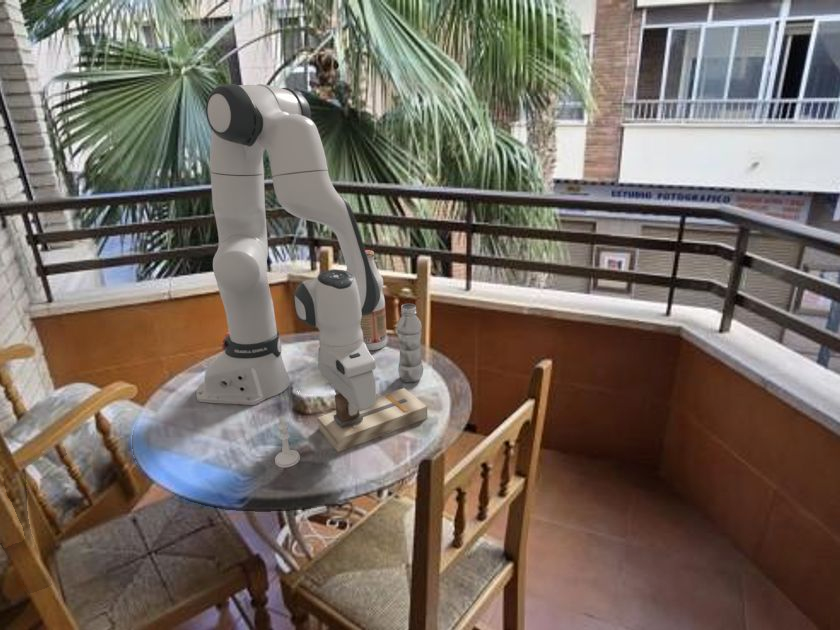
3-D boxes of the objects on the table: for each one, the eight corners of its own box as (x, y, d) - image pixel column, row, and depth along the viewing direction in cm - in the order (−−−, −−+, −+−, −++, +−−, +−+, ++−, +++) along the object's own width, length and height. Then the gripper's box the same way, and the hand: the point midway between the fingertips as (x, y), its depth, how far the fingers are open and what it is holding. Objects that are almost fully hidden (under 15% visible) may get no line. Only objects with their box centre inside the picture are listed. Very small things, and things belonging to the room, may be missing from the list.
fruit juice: (357, 353, 152) (350, 258, 142) (352, 340, 161) (345, 249, 150) (390, 348, 154) (385, 254, 144) (383, 336, 163) (378, 246, 152)
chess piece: (292, 449, 111) (286, 407, 107) (304, 460, 108) (299, 417, 104) (270, 459, 108) (264, 417, 104) (282, 470, 105) (276, 427, 101)
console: (338, 452, 110) (336, 439, 109) (318, 429, 118) (317, 416, 116) (427, 417, 121) (427, 405, 120) (404, 398, 129) (403, 387, 127)
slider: (341, 427, 112) (339, 403, 110) (333, 419, 115) (331, 394, 113) (363, 420, 115) (361, 395, 112) (354, 411, 118) (352, 388, 116)
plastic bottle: (424, 373, 140) (423, 301, 133) (422, 385, 134) (420, 311, 127) (400, 372, 141) (397, 301, 134) (396, 385, 135) (393, 311, 127)
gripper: (308, 336, 115) (314, 392, 121) (350, 373, 99) (355, 436, 105) (335, 329, 118) (340, 384, 124) (380, 364, 102) (383, 426, 108)
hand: (347, 408), depth 114 cm, fingers closed on slider, 3 cm apart
